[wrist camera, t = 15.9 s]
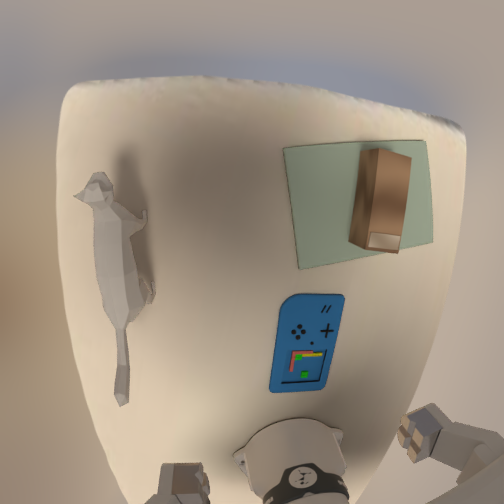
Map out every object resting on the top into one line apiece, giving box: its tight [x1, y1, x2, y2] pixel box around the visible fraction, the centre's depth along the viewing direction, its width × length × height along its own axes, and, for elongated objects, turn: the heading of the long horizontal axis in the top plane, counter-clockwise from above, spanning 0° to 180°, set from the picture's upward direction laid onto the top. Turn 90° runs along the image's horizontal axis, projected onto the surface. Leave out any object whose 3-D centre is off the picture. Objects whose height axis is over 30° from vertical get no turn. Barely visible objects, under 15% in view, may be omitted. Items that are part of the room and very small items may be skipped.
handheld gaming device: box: [269, 294, 345, 393], centre depth 38 cm, size 8×1×15 cm
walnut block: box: [348, 148, 412, 254], centre depth 32 cm, size 11×4×5 cm, turn 173°
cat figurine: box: [74, 172, 156, 407], centre depth 27 cm, size 4×20×14 cm, turn 2°
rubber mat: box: [283, 141, 433, 270], centre depth 35 cm, size 14×20×1 cm
